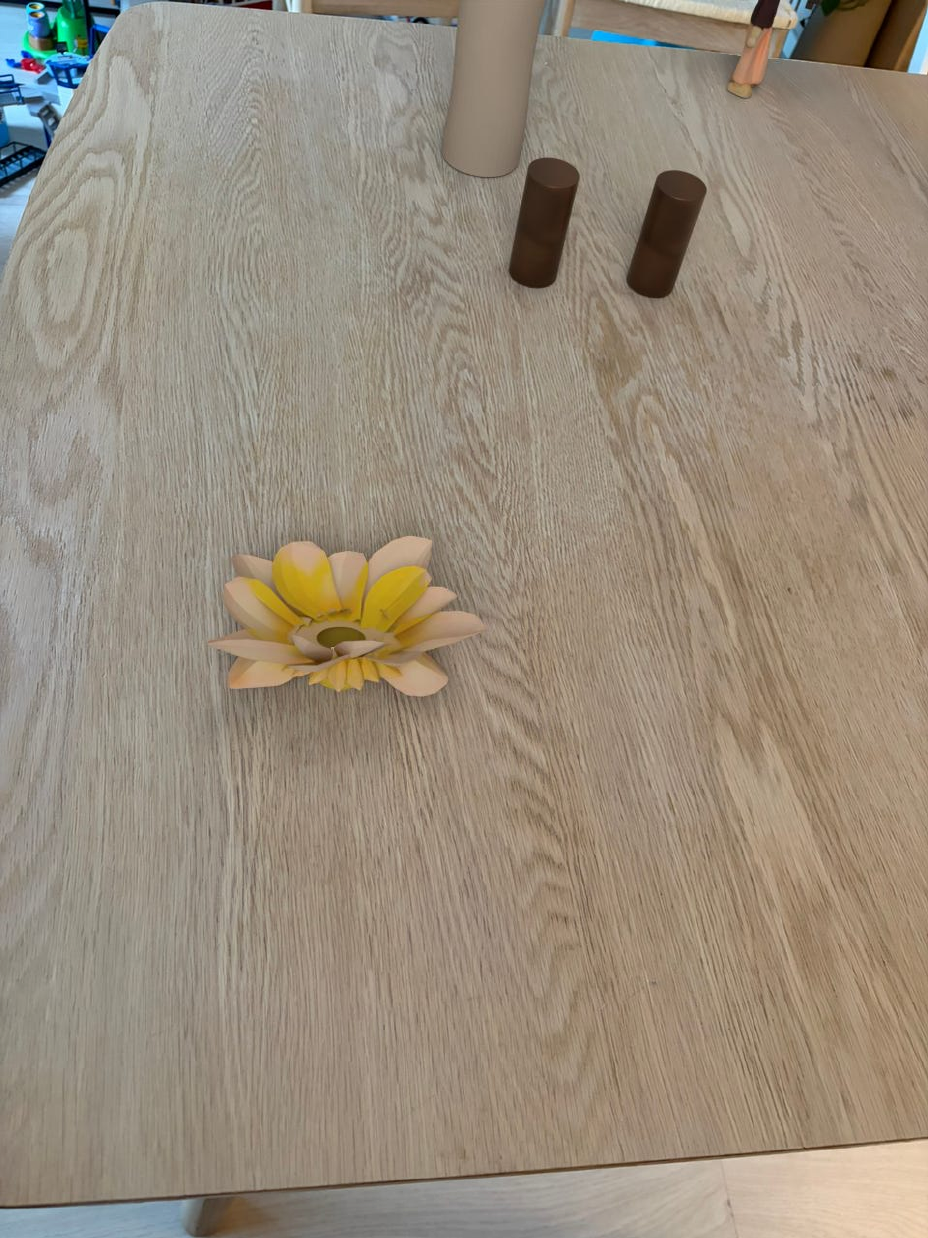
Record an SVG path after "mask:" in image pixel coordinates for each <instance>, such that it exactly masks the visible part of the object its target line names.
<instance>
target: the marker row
mask: <svg viewBox="0 0 928 1238" xmlns="http://www.w3.org/2000/svg"><path fill="white" fill-rule="evenodd" d="M580 178H581V176H580V173H579V170H578V169H577V168H576V166H574V165H573V164H571V162H568V161H566V160H564V159H560V158H556V157H539V158H536V159H533V160H532V161H531V162H530V163H528V166H527V170H526V175H525V180H524V181H525V182H524V186H523V191H522V197H521V202H520V207H519V211H518V217H517V218H518V219H517V223H516V228H515V234H514V239H513V243H512V250H511V254H510V260H509V265H508V273H509V275H510V277H511V279H513V281H514V282H516V283H518V284H519V285H520V286H521V285H522V286H524V287H527V288H531V289H543V288H548V287H550V286H551V285H553V284H554V283H555V281H556V280H557V277H558V272H559V267H560V263H561V258H562V254H563V251H564V246H565V242H566V238H567V233H568V229H569V225H570V221H571V218H572V212H573V208H574V204H575V201H576V200H575V199H576V195H577V191H578V187H579V182H580ZM707 192H708V189H707V186H706V184H705V182H704V181H703V180H702V179H700V178H699V177H698V176H697V175H695V174H692V173H690V172H687V171H683V170H679V169H678V170H677V169H669V170H664V171H661V172H660V173H659V174H658V175H657V176H656V178H655V181H654V184H653V188H652V192H651V195H650V198H649V201H648V204H647V208H646V211H645V215H644V217H643V222H642V224H641V228H640V231H639V235H638V238H637V241H636V244H635V247H634V250H633V254H632V257H631V261H630V264H629V268H628V272H627V275H626V283H627V285H628V286H629V288H630V289H631V290H633V291H634V292H635V293H637V294H639V295H640V296H643V297H645V298H651V299H659V298H660V299H661V298H664V297H667V296H669V295H670V294H671V293H672V292H673V291H674V288H675V285H676V281H677V279H678V275H679V274H680V270H681V267H682V265H683V262H684V259H685V256H686V253H687V251H688V247H689V244H690V241H691V238H692V236H693V233H694V229H695V227H696V224H697V223H698V222H697V221H698V218H699V215H700V212H701V210H702V207H703V204H704V202H705V198H706V196H707Z"/></svg>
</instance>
